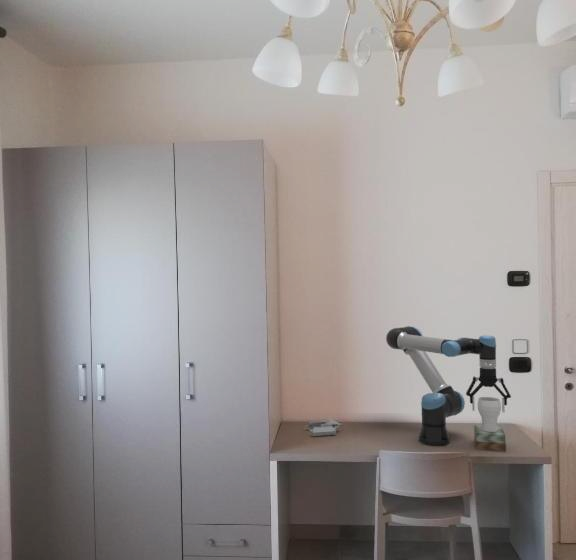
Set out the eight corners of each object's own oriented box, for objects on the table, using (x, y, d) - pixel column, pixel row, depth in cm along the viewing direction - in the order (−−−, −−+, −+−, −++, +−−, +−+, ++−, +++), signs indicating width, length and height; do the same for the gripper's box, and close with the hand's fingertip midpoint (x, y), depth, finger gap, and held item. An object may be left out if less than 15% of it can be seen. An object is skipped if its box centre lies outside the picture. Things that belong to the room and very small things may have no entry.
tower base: (476, 449, 242) (476, 433, 242) (474, 441, 254) (474, 425, 254) (505, 451, 238) (505, 434, 238) (502, 443, 251) (502, 426, 251)
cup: (500, 427, 250) (499, 397, 250) (502, 433, 240) (502, 402, 240) (477, 426, 253) (476, 396, 253) (479, 432, 243) (478, 401, 243)
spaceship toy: (304, 430, 280) (303, 419, 280) (339, 428, 283) (338, 416, 283) (309, 438, 266) (308, 426, 266) (345, 435, 269) (345, 423, 269)
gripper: (461, 367, 246) (461, 411, 247) (516, 370, 239) (517, 414, 239) (460, 365, 254) (461, 407, 254) (514, 367, 246) (514, 410, 247)
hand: (488, 411), depth 247 cm, fingers open, 13 cm apart
